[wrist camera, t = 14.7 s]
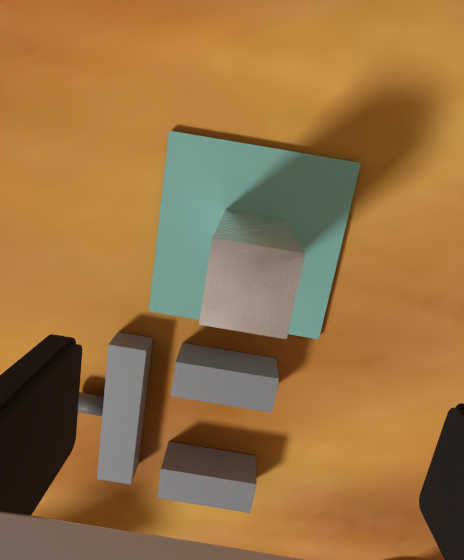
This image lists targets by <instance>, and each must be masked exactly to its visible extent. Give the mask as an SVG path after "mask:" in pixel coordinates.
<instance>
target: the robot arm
mask: <svg viewBox="0 0 464 560" xmlns="http://www.w3.org/2000/svg"><path fill="white" fill-rule="evenodd" d="M81 359H82V346H81V345H77V344H76V341H75V339H74V338H70V337H65V336H59V335H53V334H51V335H49V336H47V337H46V338H45V339H44V340H43V341H41V342H40V343H39V344H38V345H37V346H35V347H34V348H33V349H32V350H31V351H29V352H28V353H27V354H26V355H24V356H23V357H22V358H21V359H20V360H18V361H17V362H16V363H15V364H14V365H12V366H11V367H10V368H9V369H7V370H6V371H5V372H4V373H3V374H1V375H0V560H302V559H296V558H290V557H284V556H278V555H272V554H266V553H260V552H254V551H248V550H242V549H236V548H230V547H224V546H218V545H212V544H206V543H200V542H193V541H187V540H181V539H175V538H169V537H162V536H156V535H150V534H144V533H137V532H131V531H125V530H118V529H112V528H106V527H100V526H93V525H87V524H81V523H75V522H69V521H63V520H57V519H50V518H44V517H38V516H31V515H32V513H33V512H34V510H35V508H36V507H37V505H38V504H39V502H40V500H41V499H42V497H43V496H44V494H45V493H46V491H47V489H48V488H49V486H50V485H51V483H52V482H53V480H54V478H55V477H56V475H57V474H58V472H59V471H60V469H61V467H62V466H63V464H64V463H65V461H66V460H67V458H68V456H69V455H70V453H71V451H72V449H73V446H74V443H75V439H76V428H77V414H78V400H79V387H80V373H81ZM419 505H420V510H421V512H422V515H423V517H424V519H425V521H426V523H427V525H428V527H429V529H430V531H431V533H432V535H433V537H434V539H435V541H436V543H437V545H438V547H439V549H440V551H441V553H442V555H443V557H444V559H445V560H464V404H462V403H461V404H458V405H457V406H456V407H455V408H451V409H450V410H449V412H448V414H447V417H446V420H445V423H444V426H443V428H442V431H441V434H440V437H439V440H438V443H437V446H436V449H435V452H434V455H433V458H432V461H431V464H430V467H429V470H428V473H427V476H426V478H425V481H424V484H423V487H422V490H421V493H420V497H419Z"/></svg>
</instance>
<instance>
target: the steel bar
mask: <svg viewBox="0 0 464 560" xmlns="http://www.w3.org/2000/svg"><path fill="white" fill-rule="evenodd" d="M304 258H305V252H304V250H303V249H302V247H301V246H300V244H299V242H298V241H297V239H296V238H295V236H294V234H293V233H292V231H291V230H290V228H289V226H288V225H287V223H286V221H285V220H284V219H278V218H272V217H266V216H261V215H255V214H249V213H243V212H237V211H231V210H225V211H224V213H223V216H222V218H221V220H220V222H219V224H218V226H217V228H216V230H215V233H214V235H213V237H212V242H211V248H210V255H209V261H208V268H207V274H206V281H205V288H204V294H203V301H202V307H201V314H200V320H199V325H204V326H210V327H216V328H222V329H228V330H234V331H240V332H246V333H252V334H258V335H264V336H270V337H276V338H282V339H287V335H288V331H289V326H290V322H291V317H292V313H293V308H294V303H295V299H296V294H297V290H298V285H299V280H300V276H301V271H302V267H303V262H304Z"/></svg>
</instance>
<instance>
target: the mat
mask: <svg viewBox="0 0 464 560" xmlns="http://www.w3.org/2000/svg"><path fill="white" fill-rule="evenodd" d="M360 165H361V163H358V162H353V161H347V160H341V159H335V158H329V157H323V156H317V155H311V154H305V153H299V152H293V151H287V150H281V149H275V148H270V147H264V146H258V145H252V144H246V143H240V142H234V141H228V140H222V139H216V138H210V137H204V136H198V135H192V134H187V133H181V132H175V131H169V137H168V146H167V155H166V164H165V173H164V182H163V191H162V200H161V208H160V217H159V226H158V235H157V244H156V253H155V262H154V271H153V280H152V288H151V297H150V306H149V311H150V312H156V313H162V314H168V315H174V316H180V317H187V318H193V319H199V320H200V314H201V307H202V301H203V294H204V288H205V281H206V274H207V268H208V261H209V255H210V248H211V242H212V237H213V235H214V233H215V230H216V228H217V226H218V224H219V222H220V220H221V218H222V216H223V213H224V211H225V210H231V211H237V212H243V213H249V214H255V215H261V216H266V217H272V218H278V219H284V220H285V221H286V223H287V225H288V226H289V228H290V230H291V231H292V233H293V234H294V236H295V238H296V239H297V241H298V242H299V244H300V246H301V247H302V249H303V250H304V252H305V258H304V262H303V267H302V271H301V276H300V280H299V285H298V290H297V294H296V299H295V303H294V308H293V313H292V317H291V322H290V326H289V331H288V334H290V335H296V336H302V337H308V338H314V339H319V337H320V333H321V328H322V324H323V320H324V316H325V312H326V308H327V303H328V299H329V295H330V291H331V287H332V282H333V278H334V274H335V270H336V266H337V262H338V257H339V253H340V249H341V245H342V241H343V236H344V232H345V228H346V224H347V220H348V216H349V211H350V207H351V203H352V199H353V195H354V190H355V186H356V182H357V178H358V174H359V170H360Z"/></svg>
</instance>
